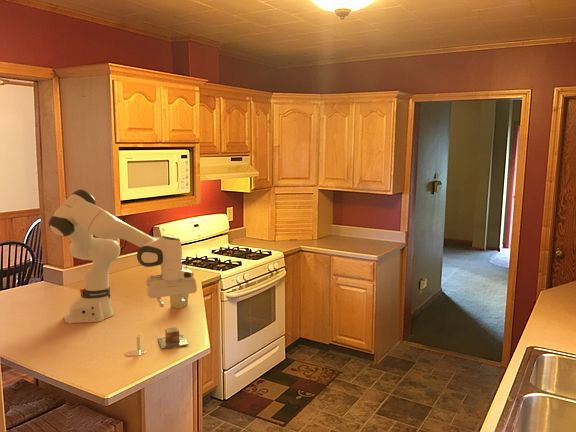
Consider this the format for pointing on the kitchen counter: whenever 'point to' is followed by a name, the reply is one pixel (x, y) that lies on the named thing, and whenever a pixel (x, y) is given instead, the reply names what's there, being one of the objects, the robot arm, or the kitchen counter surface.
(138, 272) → the kitchen counter surface
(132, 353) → the unidentifiable
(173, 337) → the cube
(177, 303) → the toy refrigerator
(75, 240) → the robot arm
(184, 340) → the trivet
